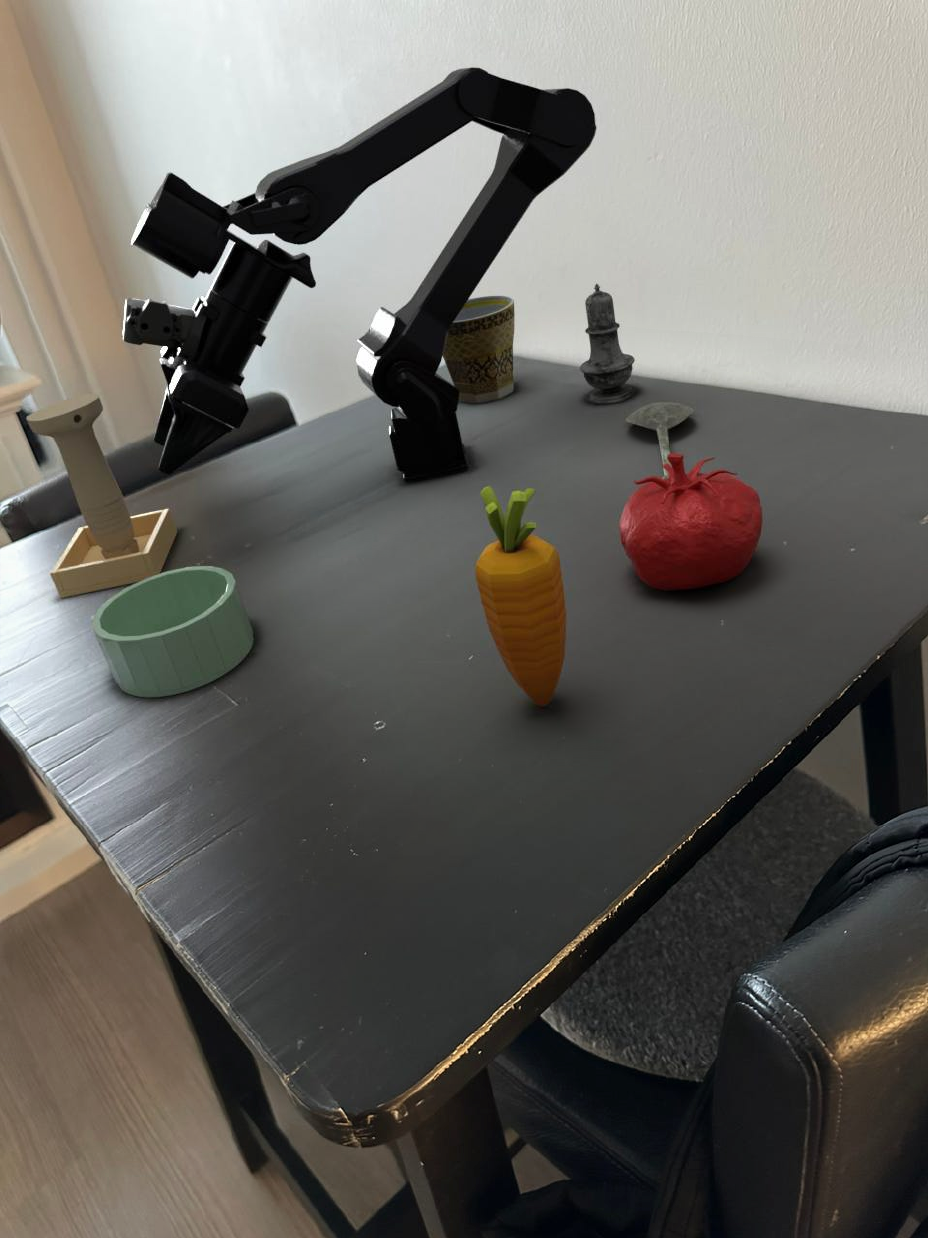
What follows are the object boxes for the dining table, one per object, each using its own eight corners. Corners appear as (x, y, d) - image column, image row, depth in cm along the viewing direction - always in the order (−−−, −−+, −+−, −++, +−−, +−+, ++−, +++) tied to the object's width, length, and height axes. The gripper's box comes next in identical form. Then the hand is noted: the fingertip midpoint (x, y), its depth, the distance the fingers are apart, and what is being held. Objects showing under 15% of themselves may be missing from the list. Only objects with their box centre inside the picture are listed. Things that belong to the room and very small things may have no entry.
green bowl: (261, 608, 84) (242, 555, 81) (245, 680, 74) (224, 621, 72) (133, 635, 84) (111, 582, 82) (101, 709, 75) (75, 652, 72)
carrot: (500, 692, 67) (454, 480, 59) (575, 676, 66) (539, 462, 59) (509, 736, 62) (461, 514, 55) (590, 720, 62) (552, 494, 55)
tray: (177, 531, 102) (169, 508, 101) (158, 577, 93) (148, 552, 92) (88, 550, 103) (78, 527, 101) (60, 598, 94) (49, 573, 92)
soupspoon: (694, 417, 103) (629, 429, 105) (690, 384, 102) (624, 397, 103) (709, 501, 84) (628, 514, 86) (703, 463, 83) (622, 477, 84)
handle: (164, 547, 98) (107, 396, 90) (104, 577, 94) (39, 423, 87) (141, 537, 101) (84, 391, 94) (82, 566, 98) (18, 417, 90)
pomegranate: (769, 599, 70) (762, 473, 65) (622, 610, 72) (605, 490, 68) (760, 533, 78) (753, 418, 73) (628, 545, 81) (614, 434, 76)
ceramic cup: (545, 381, 120) (531, 295, 115) (489, 412, 115) (472, 323, 110) (466, 374, 129) (450, 294, 124) (410, 403, 123) (391, 320, 118)
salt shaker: (636, 400, 108) (623, 286, 103) (581, 407, 110) (565, 295, 104) (639, 382, 113) (627, 272, 107) (586, 389, 115) (571, 280, 109)
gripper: (149, 245, 95) (77, 392, 99) (159, 272, 80) (73, 446, 83) (256, 306, 101) (184, 444, 104) (286, 343, 85) (199, 504, 88)
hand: (160, 457), depth 95 cm, fingers open, 9 cm apart
